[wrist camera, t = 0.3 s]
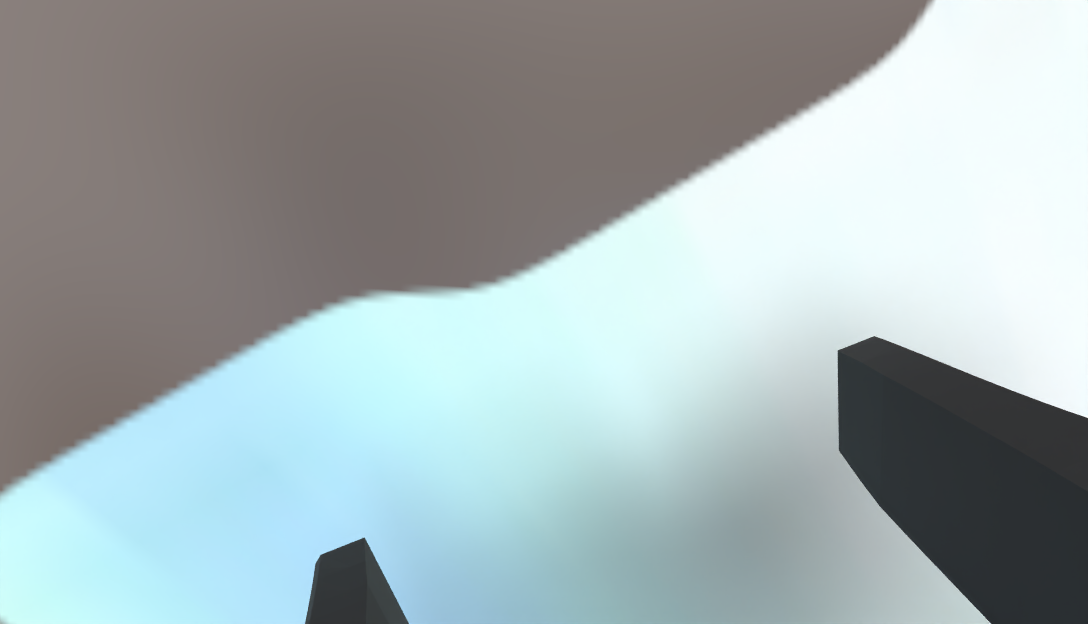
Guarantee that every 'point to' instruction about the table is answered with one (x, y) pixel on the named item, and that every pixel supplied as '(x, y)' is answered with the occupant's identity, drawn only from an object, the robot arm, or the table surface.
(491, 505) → the table surface
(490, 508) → the table surface
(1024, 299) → the table surface
